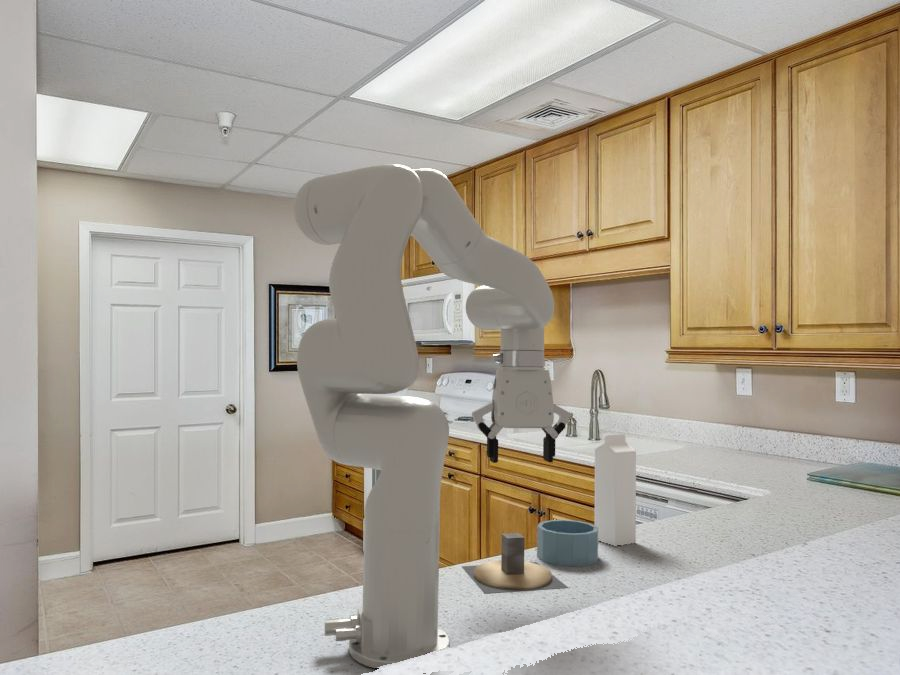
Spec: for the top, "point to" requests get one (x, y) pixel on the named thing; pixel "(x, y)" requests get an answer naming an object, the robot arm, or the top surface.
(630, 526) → the milk
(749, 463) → the top surface
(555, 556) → the bowl
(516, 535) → the lid
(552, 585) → the mat
